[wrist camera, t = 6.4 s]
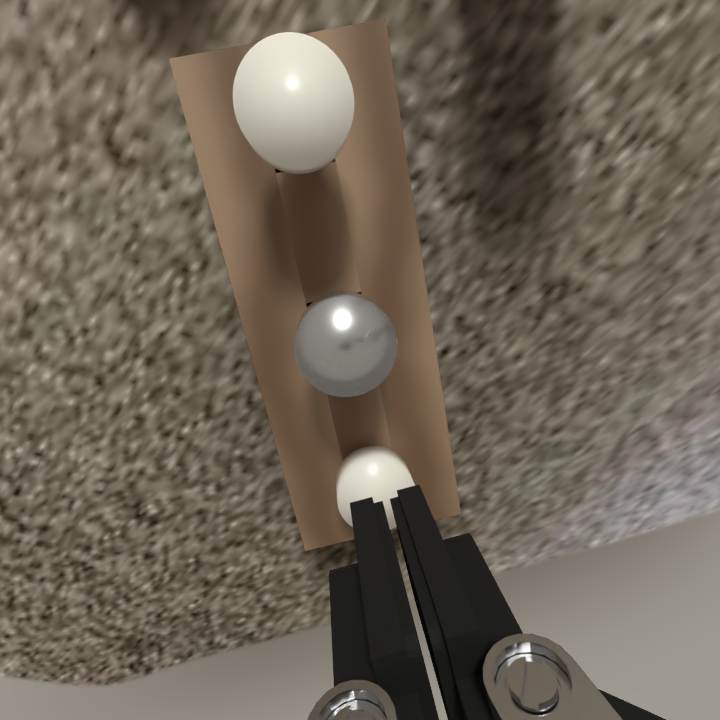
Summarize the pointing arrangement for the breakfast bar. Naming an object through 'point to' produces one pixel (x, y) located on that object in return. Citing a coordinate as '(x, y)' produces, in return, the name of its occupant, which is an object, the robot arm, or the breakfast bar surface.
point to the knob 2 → (371, 479)
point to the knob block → (326, 276)
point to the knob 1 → (293, 102)
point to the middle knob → (345, 344)
